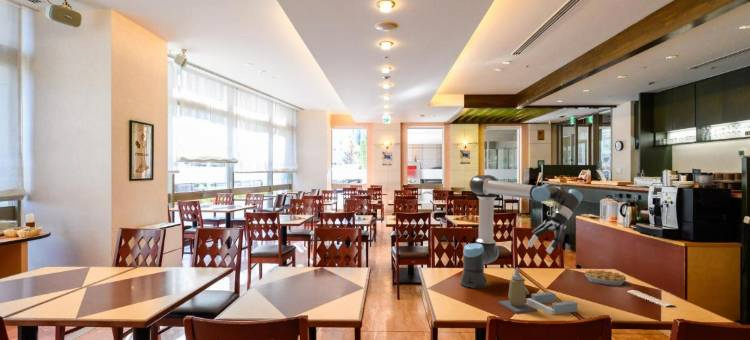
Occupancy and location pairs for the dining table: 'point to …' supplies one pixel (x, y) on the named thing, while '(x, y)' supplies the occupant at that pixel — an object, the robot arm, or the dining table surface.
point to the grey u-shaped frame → (556, 307)
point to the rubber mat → (516, 309)
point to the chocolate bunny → (525, 288)
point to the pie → (605, 277)
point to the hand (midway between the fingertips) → (538, 249)
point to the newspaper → (649, 298)
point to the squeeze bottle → (517, 290)
